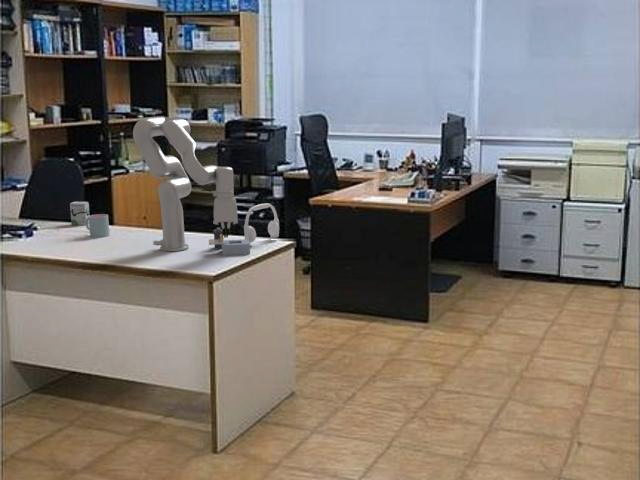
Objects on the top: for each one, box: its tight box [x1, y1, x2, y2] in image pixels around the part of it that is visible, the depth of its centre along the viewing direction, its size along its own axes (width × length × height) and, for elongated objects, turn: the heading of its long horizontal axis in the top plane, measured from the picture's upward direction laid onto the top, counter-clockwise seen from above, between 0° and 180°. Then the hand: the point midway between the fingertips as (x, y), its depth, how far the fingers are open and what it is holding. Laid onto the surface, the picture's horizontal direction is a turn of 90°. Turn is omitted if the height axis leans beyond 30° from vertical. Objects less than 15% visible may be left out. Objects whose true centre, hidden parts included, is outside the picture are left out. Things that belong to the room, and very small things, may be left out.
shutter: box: [208, 234, 224, 246], centre depth 361 cm, size 6×8×3 cm
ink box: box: [69, 201, 90, 226], centre depth 437 cm, size 9×5×12 cm, turn 81°
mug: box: [85, 213, 110, 239], centre depth 406 cm, size 14×9×10 cm
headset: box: [243, 203, 280, 245], centre depth 382 cm, size 20×7×18 cm, turn 138°
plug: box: [213, 227, 224, 250], centre depth 372 cm, size 4×4×9 cm
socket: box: [221, 238, 251, 256], centre depth 363 cm, size 12×10×4 cm
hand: (226, 236), depth 361 cm, fingers closed
